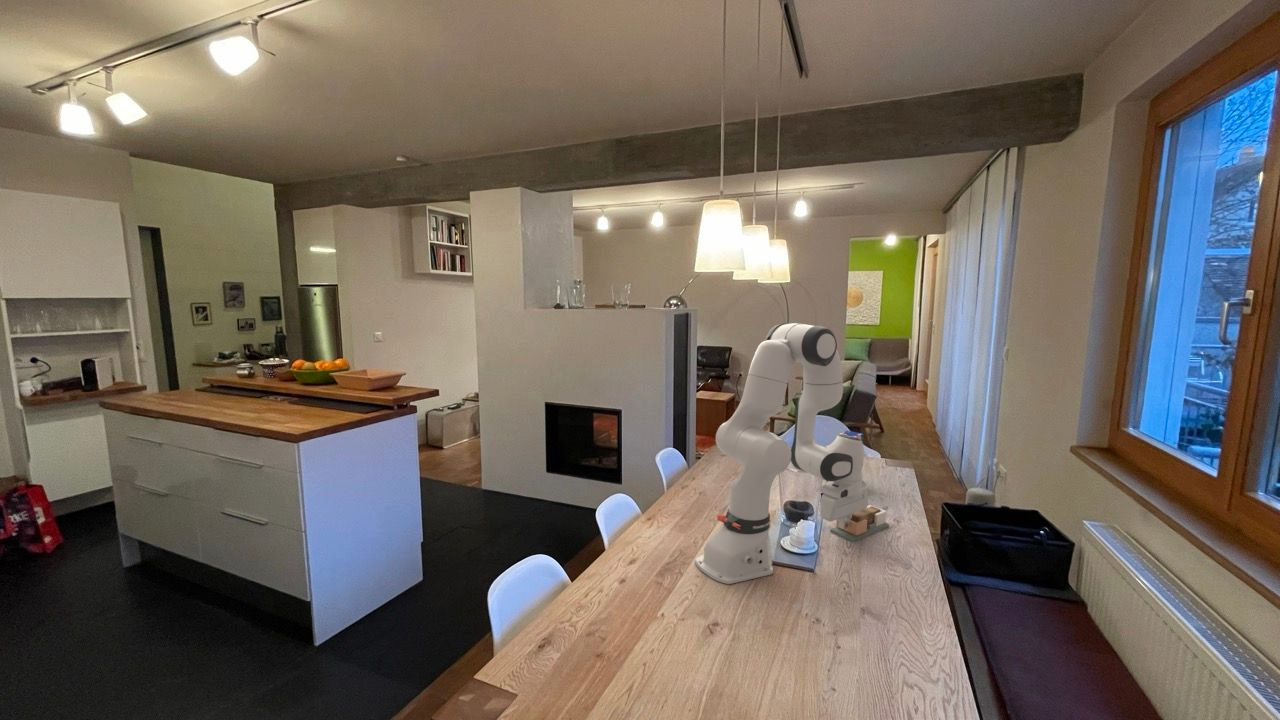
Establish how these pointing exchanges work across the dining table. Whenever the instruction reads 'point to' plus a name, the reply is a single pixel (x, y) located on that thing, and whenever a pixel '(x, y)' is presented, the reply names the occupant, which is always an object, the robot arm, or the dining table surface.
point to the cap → (855, 527)
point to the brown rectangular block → (865, 515)
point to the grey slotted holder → (872, 528)
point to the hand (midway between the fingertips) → (843, 527)
